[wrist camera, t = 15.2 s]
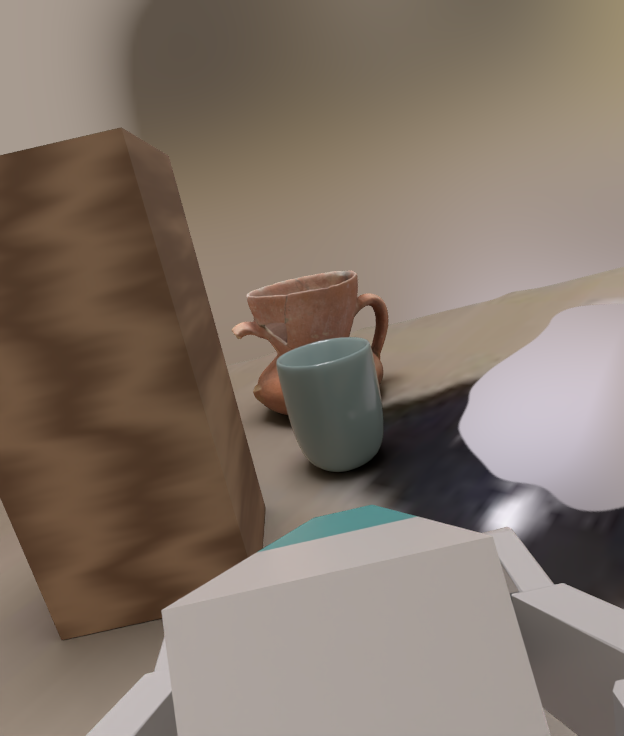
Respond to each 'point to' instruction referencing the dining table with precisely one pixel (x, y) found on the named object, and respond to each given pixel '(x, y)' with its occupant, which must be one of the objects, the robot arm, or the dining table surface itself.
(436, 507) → the dining table surface
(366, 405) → the cup
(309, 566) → the block
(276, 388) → the ceramic jug
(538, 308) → the dining table surface
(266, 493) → the dining table surface
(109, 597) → the tall stand
